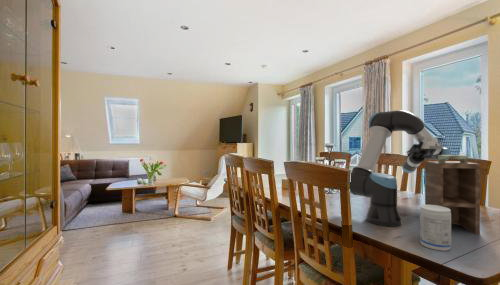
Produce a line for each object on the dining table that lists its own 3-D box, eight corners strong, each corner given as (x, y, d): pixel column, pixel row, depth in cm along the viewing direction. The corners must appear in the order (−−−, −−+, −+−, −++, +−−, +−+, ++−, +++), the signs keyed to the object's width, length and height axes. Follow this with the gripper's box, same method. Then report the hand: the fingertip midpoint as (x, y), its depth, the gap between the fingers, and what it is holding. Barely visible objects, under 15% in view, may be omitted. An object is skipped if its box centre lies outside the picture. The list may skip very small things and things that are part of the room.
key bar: (436, 148, 123) (436, 140, 123) (421, 148, 140) (421, 141, 140) (445, 148, 122) (445, 140, 122) (429, 148, 139) (429, 141, 139)
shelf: (439, 231, 109) (438, 155, 109) (425, 221, 123) (425, 154, 123) (479, 234, 105) (479, 156, 105) (460, 223, 119) (460, 154, 119)
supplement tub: (422, 239, 101) (422, 203, 101) (452, 245, 94) (452, 207, 94) (417, 246, 94) (417, 207, 94) (450, 254, 87) (449, 212, 87)
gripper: (433, 164, 148) (451, 145, 129) (401, 164, 153) (414, 146, 133) (430, 153, 152) (447, 133, 132) (399, 153, 156) (411, 134, 136)
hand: (430, 139), depth 133 cm, fingers closed on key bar, 4 cm apart
